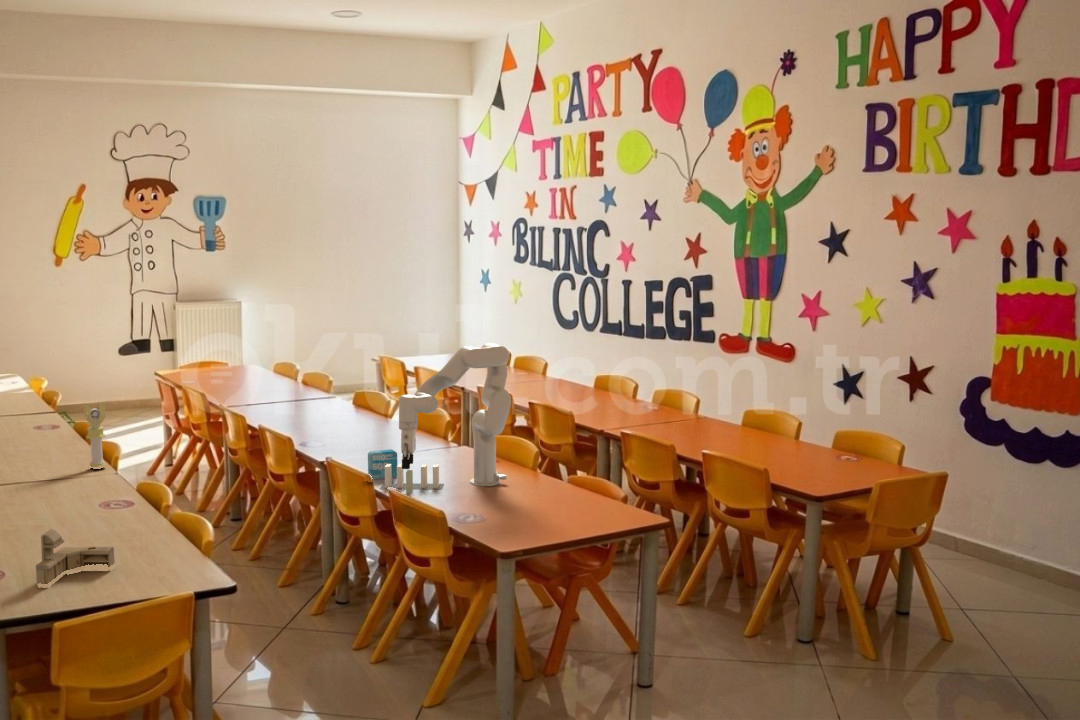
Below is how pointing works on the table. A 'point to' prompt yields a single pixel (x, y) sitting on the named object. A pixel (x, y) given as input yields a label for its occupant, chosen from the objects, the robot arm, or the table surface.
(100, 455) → the trophy
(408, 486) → the domino
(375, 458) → the data package
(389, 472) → the domino
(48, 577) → the toy kitchen set
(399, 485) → the domino
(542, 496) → the table surface
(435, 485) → the domino
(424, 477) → the domino
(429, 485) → the domino mat
